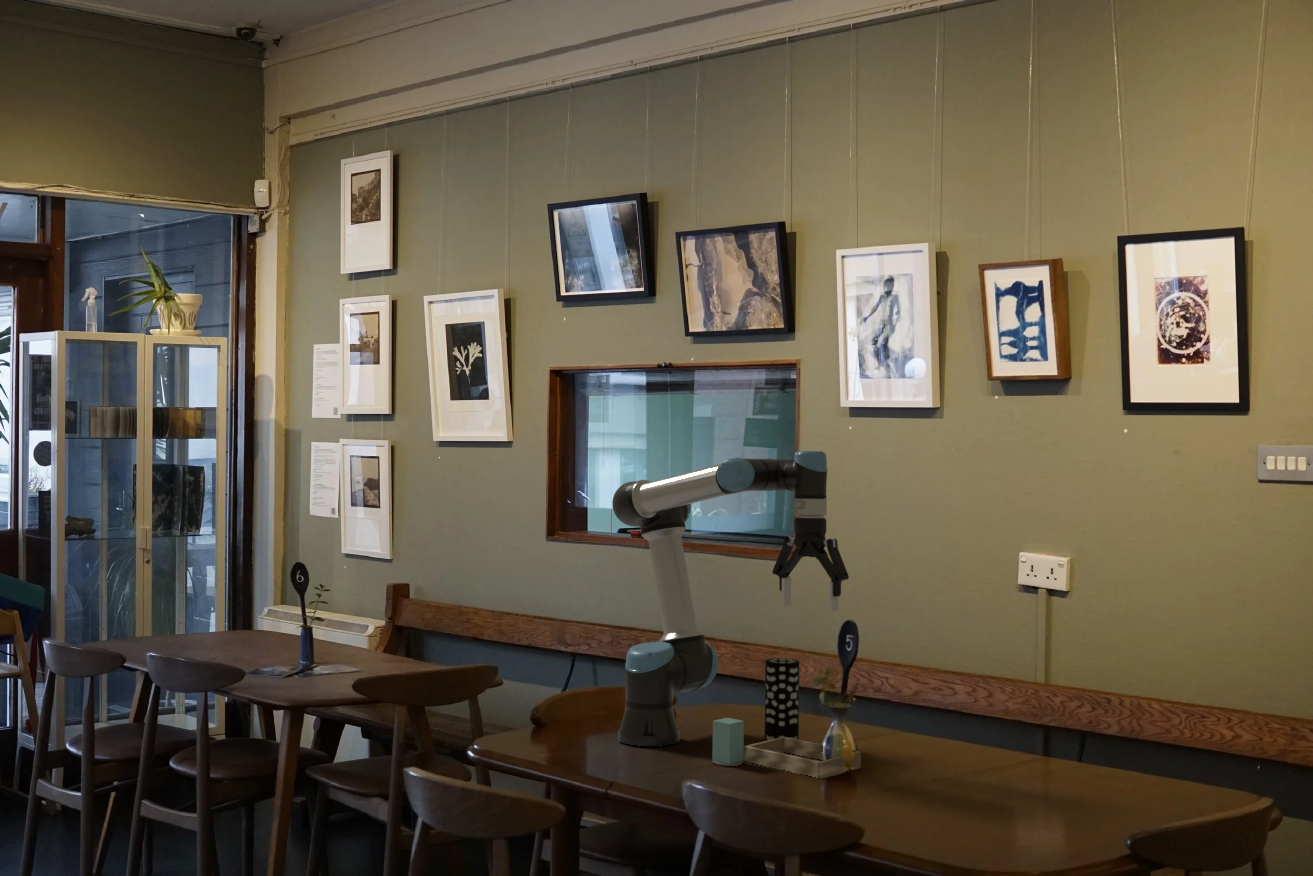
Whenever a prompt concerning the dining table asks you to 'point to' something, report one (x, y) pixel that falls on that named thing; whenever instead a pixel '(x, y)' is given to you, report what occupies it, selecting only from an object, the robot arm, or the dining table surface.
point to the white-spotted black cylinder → (781, 698)
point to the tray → (773, 757)
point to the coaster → (728, 764)
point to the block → (728, 740)
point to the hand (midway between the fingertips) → (809, 608)
